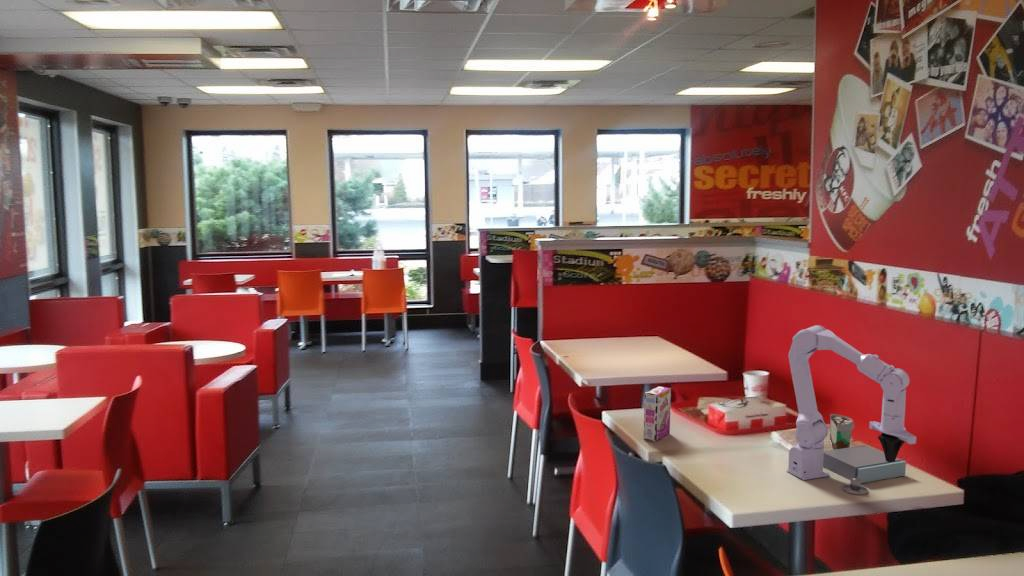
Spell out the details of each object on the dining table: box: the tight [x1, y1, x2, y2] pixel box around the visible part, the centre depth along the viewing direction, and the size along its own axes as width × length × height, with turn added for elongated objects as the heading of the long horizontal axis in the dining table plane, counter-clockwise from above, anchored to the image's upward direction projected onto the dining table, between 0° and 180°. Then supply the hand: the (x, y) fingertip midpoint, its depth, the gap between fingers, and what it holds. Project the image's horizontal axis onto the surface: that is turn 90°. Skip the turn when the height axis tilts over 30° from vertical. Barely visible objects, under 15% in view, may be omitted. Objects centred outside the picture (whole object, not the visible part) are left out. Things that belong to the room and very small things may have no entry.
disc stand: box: [842, 477, 869, 495], centre depth 224 cm, size 6×6×4 cm
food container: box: [829, 413, 855, 450], centre depth 257 cm, size 12×6×10 cm, turn 168°
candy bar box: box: [642, 386, 672, 442], centre depth 271 cm, size 11×5×16 cm, turn 144°
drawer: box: [858, 460, 907, 484], centre depth 238 cm, size 13×17×4 cm
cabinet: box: [823, 444, 902, 481], centre depth 240 cm, size 14×17×4 cm
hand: (890, 461), depth 221 cm, fingers closed
